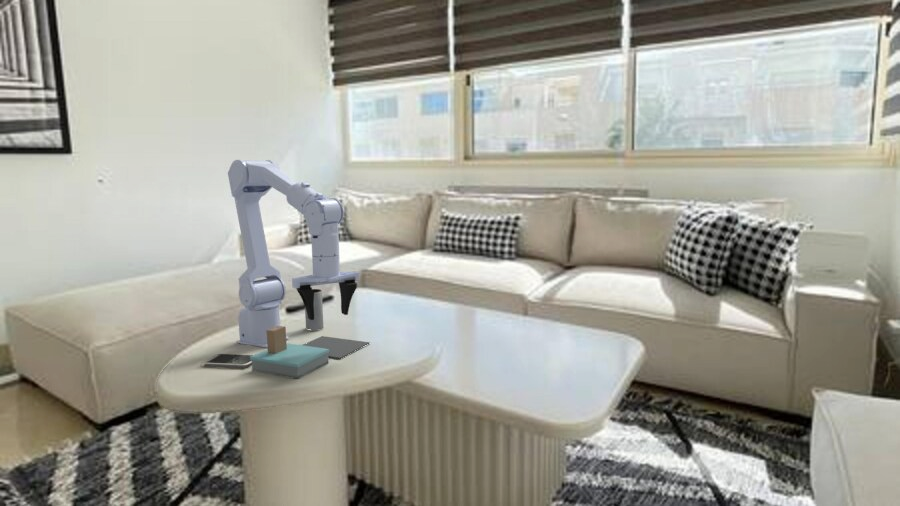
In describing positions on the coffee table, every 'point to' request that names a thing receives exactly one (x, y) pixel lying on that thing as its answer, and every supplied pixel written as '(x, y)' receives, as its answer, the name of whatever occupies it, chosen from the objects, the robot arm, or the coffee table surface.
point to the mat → (336, 346)
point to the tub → (290, 367)
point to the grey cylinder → (316, 312)
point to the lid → (286, 350)
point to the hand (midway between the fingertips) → (328, 316)
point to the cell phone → (228, 361)
